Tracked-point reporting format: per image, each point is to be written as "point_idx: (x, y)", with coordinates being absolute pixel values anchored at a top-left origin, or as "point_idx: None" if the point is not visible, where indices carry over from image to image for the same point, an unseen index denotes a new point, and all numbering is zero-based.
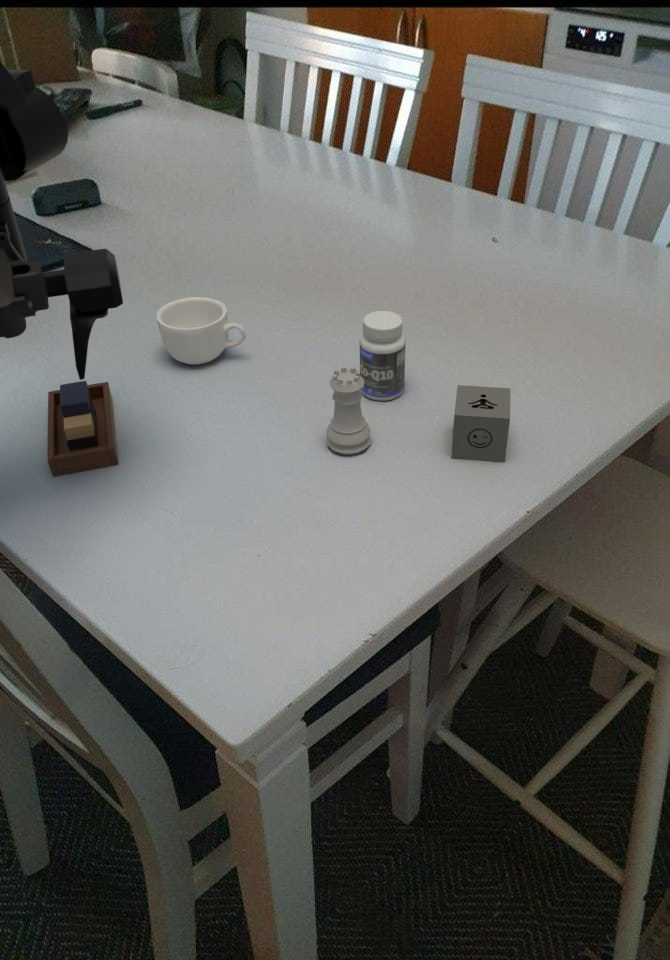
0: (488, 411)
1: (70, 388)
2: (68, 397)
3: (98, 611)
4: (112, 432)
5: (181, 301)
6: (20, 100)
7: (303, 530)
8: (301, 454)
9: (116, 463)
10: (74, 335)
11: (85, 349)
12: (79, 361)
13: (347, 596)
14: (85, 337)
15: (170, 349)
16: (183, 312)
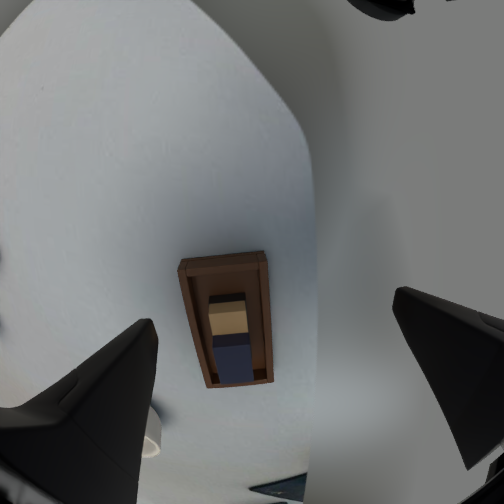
0: None
1: (239, 374)
2: (239, 359)
3: (195, 16)
4: (184, 303)
5: (142, 455)
6: None
7: (10, 125)
8: (12, 239)
9: (183, 259)
10: (74, 404)
11: (81, 365)
12: (120, 346)
13: (6, 55)
14: (55, 390)
15: (148, 413)
16: (143, 445)
